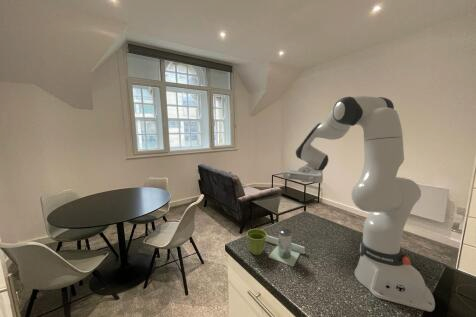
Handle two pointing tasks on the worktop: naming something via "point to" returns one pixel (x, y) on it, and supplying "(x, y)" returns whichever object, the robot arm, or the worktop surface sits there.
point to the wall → (293, 246)
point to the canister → (284, 243)
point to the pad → (288, 261)
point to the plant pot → (256, 240)
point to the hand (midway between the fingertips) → (298, 179)
